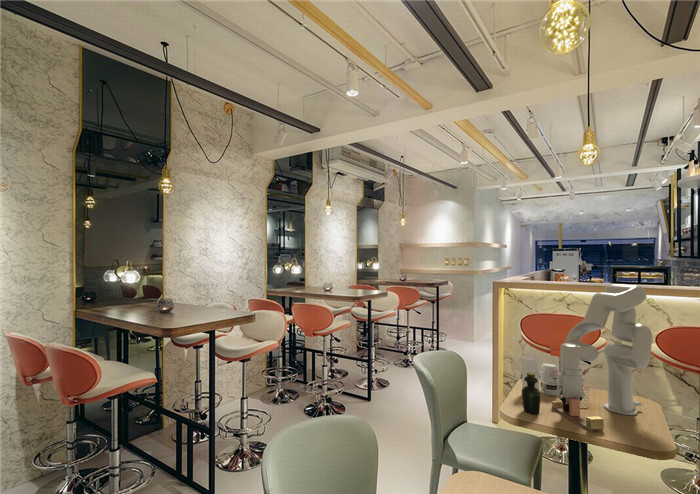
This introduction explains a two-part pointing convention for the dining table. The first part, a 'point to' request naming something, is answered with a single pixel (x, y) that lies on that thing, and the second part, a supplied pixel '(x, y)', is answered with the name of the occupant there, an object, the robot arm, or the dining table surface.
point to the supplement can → (549, 378)
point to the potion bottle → (531, 395)
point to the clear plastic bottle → (530, 367)
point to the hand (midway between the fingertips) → (571, 411)
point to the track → (577, 419)
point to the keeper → (573, 406)
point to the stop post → (595, 422)
